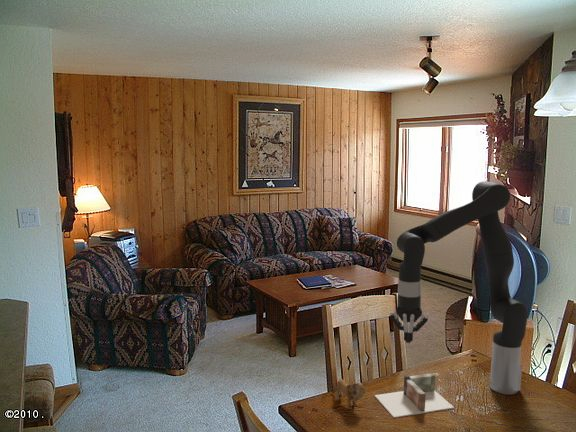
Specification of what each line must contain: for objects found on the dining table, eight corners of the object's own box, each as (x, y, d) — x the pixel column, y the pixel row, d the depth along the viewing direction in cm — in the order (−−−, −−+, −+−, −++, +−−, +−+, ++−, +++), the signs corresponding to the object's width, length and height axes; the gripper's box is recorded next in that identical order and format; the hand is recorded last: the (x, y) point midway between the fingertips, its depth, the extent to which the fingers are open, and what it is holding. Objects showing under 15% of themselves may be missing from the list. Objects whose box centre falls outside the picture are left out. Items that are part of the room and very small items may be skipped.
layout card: (430, 388, 177) (431, 386, 177) (454, 408, 164) (454, 406, 164) (374, 396, 171) (374, 394, 171) (393, 417, 158) (393, 416, 158)
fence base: (431, 388, 176) (432, 371, 175) (434, 391, 174) (435, 374, 173) (402, 392, 173) (403, 375, 172) (405, 395, 171) (405, 378, 170)
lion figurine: (368, 408, 163) (369, 383, 162) (357, 414, 160) (358, 388, 158) (336, 391, 174) (337, 367, 173) (325, 396, 171) (326, 371, 170)
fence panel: (405, 394, 171) (406, 379, 170) (410, 394, 171) (411, 379, 170) (419, 410, 161) (420, 394, 160) (424, 409, 161) (425, 393, 161)
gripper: (430, 290, 166) (428, 339, 169) (390, 287, 170) (389, 335, 173) (429, 297, 159) (428, 348, 162) (388, 294, 163) (387, 344, 166)
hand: (408, 341), depth 167 cm, fingers closed
